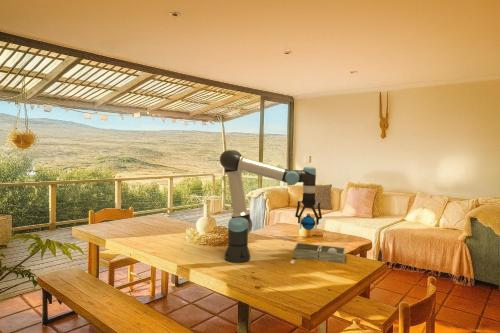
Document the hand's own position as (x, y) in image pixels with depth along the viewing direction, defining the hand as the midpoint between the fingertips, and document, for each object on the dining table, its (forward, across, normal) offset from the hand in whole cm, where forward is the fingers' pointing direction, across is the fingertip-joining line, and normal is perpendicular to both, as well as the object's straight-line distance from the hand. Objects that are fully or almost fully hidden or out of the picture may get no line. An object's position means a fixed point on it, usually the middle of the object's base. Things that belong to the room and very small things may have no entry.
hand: (308, 229), depth 204 cm
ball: (+16, -15, 0) cm, 22 cm away
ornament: (0, 0, 0) cm, 0 cm away
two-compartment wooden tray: (+17, -7, 0) cm, 19 cm away
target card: (+17, +4, +13) cm, 22 cm away
